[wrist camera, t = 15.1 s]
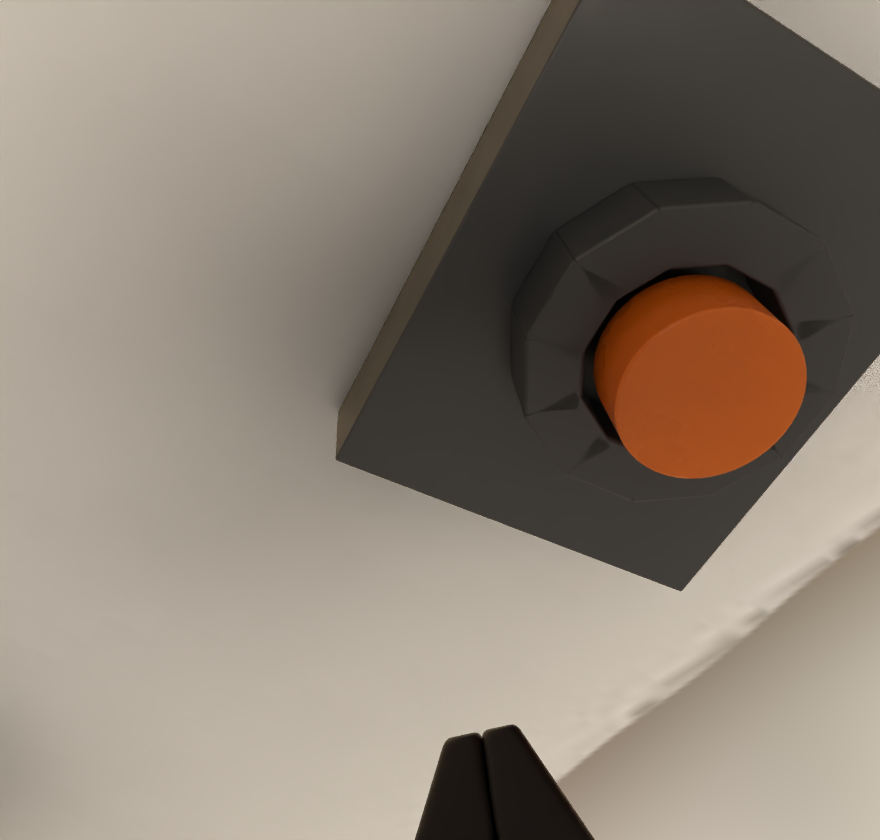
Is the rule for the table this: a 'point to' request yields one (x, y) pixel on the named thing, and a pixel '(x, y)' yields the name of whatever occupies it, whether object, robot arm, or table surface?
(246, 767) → the table surface
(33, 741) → the table surface
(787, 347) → the button
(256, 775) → the table surface
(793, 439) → the control block
